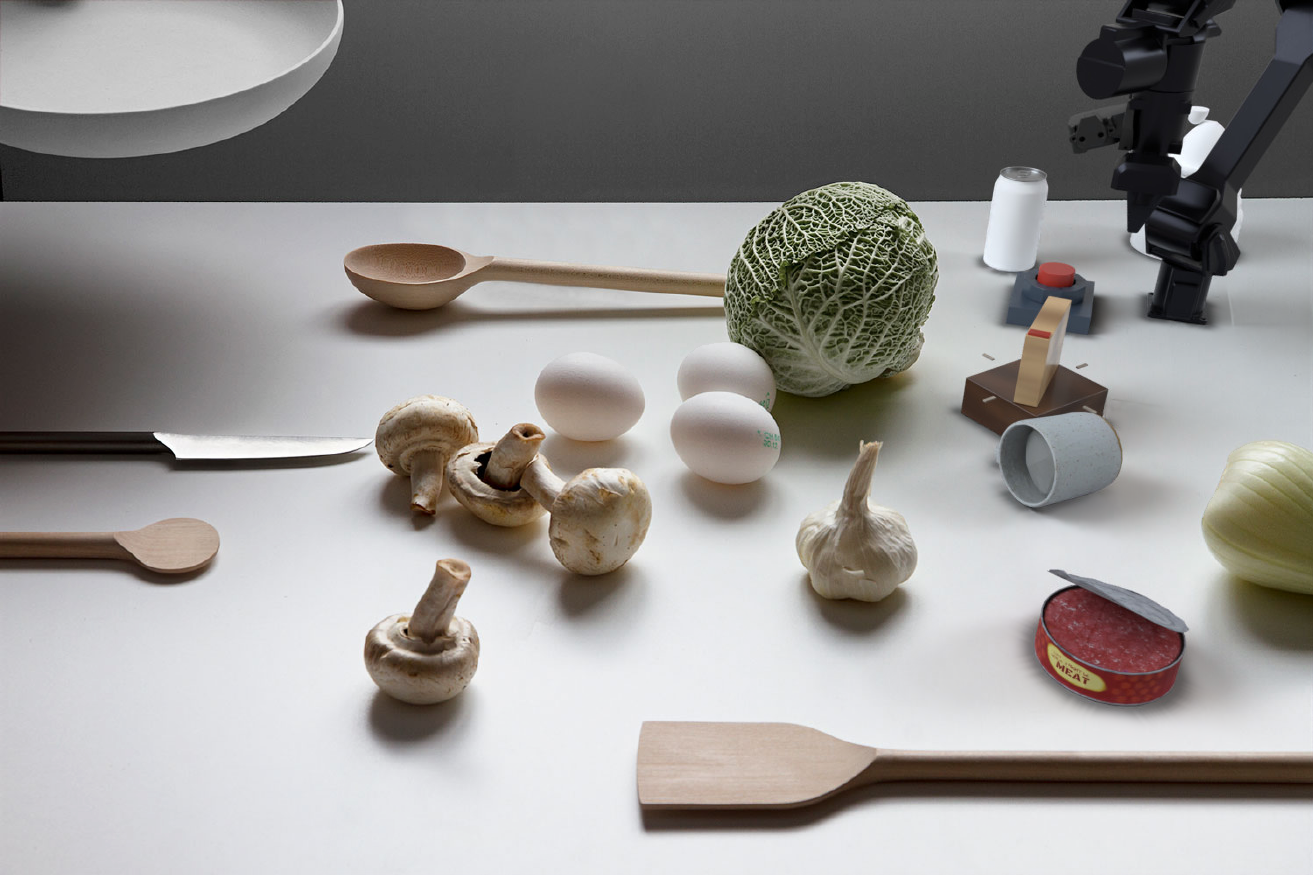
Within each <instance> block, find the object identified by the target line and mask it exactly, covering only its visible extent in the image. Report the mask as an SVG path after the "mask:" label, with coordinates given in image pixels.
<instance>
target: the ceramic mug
mask: <svg viewBox="0 0 1313 875" xmlns="http://www.w3.org/2000/svg"><path fill="white" fill-rule="evenodd" d="M994 450H995V461H996V464H998V465H999V471H1000V474H1001V478H1002V481H1003V482H1004V485H1005V486H1006V488H1007V490H1008V491H1009V493H1010V494H1011V495H1012V496H1013V498H1014V499H1016V500H1017V501H1018V502H1020V503H1021V504H1022V505H1024V506H1026V507H1029V508H1041V507H1045V506H1048V505H1052V504H1056V503H1059V502H1064V501H1067V500H1071V499H1074V498H1077V497H1081V496H1086V495H1089V494H1093V493H1096V492H1099V491H1101V490H1103V489H1105V488H1106V487H1108V486H1109V485H1111V484H1113V483H1114V481H1116V479H1117V478H1118V476H1119V474H1120V472H1121V469H1122V466H1123V459H1124V458H1123V457H1124V456H1123V453H1124V452H1123V446H1122V442H1121V439H1120V436H1119V435H1118V433H1117V431H1116V429H1115V428H1114V426H1113V425H1112V424H1111V423H1110V421H1109V420H1108V419H1106V418H1105V417H1103V416H1102V417H1101V416H1100V415H1097V414H1094V413H1087V412H1072V413H1067V414H1062V415H1056V416H1049V417H1042V418H1034V419H1027V420H1021V421H1018V422H1015V423H1013V424H1011V425H1010V426H1009V427H1008V428H1007V429H1006V430H1005V432H1004V433H1003V435H1002V436H1000V440H999V444H997V445H996V446H995V449H994Z"/></svg>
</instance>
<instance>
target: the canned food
mask: <svg viewBox="0 0 1313 875" xmlns="http://www.w3.org/2000/svg"><path fill="white" fill-rule="evenodd" d="M1047 572H1048V573H1050V574H1052V575H1055V576H1056V577H1058V578H1060V579H1063V580H1065V581H1067V582H1069V583H1072V584H1071V585H1067V586H1063V587H1061V588H1058V589H1057V590H1055V591H1054V592H1052V593H1050V594H1049V595H1048V597H1047V598H1046V599H1044V601H1043V603H1042V606H1041V608H1040V614H1039V619H1038V623H1037V627H1036V632H1035V636H1034V641H1033V649H1034V654H1035V657H1036V658H1037V661H1038V663H1039V664H1040V666H1041V667H1042V669H1043V670H1044V671H1045V672H1046V674H1047V675H1048V676H1049V677H1051V678H1052V679H1053V681H1055V682H1056V683H1057V684H1058V685H1061V686H1062V687H1063V688H1065V689H1066V690H1068V691H1069V692H1072V693H1074V694H1075V695H1078V696H1080V697H1082V698H1085V699H1087V700H1091V701H1094V702H1098V703H1101V704H1107V705H1110V706H1111V705H1112V706H1121V707H1123V706H1124V707H1128V706H1129V707H1130V706H1132V707H1133V706H1142V705H1146V704H1151V703H1153V702H1156V701H1158V700H1160V699H1162V698H1163V697H1165V696H1166V695H1167V694H1169V693H1170V691H1171V690H1172V689H1173V687H1174V686H1175V684H1176V680H1177V677H1178V672H1179V670H1180V666H1181V663H1182V660H1183V657H1184V655H1185V652H1186V648H1187V641H1186V639H1187V638H1186V635H1185V633H1187V632H1188V631H1190V628H1189V626H1187V624H1186V622H1185V620H1183V619H1182V618H1180V617H1178V616H1177V615H1175V613H1173V612H1172V611H1171V610H1170V609H1168V608H1166V607H1165V606H1163V605H1161V604H1159V603H1158V602H1157V601H1155V600H1153V599H1151V598H1150V597H1148V596H1146V595H1143V594H1141V593H1139V592H1137V591H1134V590H1132V589H1128V588H1124V587H1122V586H1119V585H1115V584H1111V583H1107V582H1103V581H1101V580H1098V579H1096V578H1092V577H1091V578H1090V577H1084V576H1080V575H1076V574H1073V573H1068V572H1067V571H1065V570H1063V569H1059V568H1050V569H1049V570H1047Z"/></svg>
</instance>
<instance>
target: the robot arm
mask: <svg viewBox="0 0 1313 875" xmlns="http://www.w3.org/2000/svg"><path fill="white" fill-rule="evenodd" d="M1237 1H1238V0H1126V2H1125V3H1124V5H1123V6H1122V8H1121V10H1120V11H1119V12H1118V14H1117V16H1116V17H1115V24H1114V23H1107V24H1103V25H1102V26H1101V27H1100V29H1099V30H1100V31H1099V36H1098V37H1097V38H1096V39H1093V40H1091V41H1090V42H1089V43H1087V45H1085V47H1084V48H1083V50H1082V52H1081V53H1080V56H1079V57H1078V58H1077V61H1076V68H1075V72H1076V80H1077V83H1078V86H1079V88H1080V89H1081V91H1082V92H1083V94H1085V95H1086V96H1087V97H1089V98H1090V99H1092V100H1096V101H1098V100H1101V101H1102V100H1107V99H1112V98H1117V97H1122V96H1123V97H1124V96H1128V100H1127V102H1124V103H1120V104H1115V105H1113V104H1112V105H1109V106H1105V107H1100V108H1096V109H1092V110H1088V111H1084V112H1079V113H1076V114H1073V115H1072V116H1070V118H1069V121H1068V123H1067V128H1068V133H1069V138H1068V140H1069V143H1070V144H1071V149H1072V154H1075V155H1080V154H1085V153H1087V152H1088V151H1091V150H1094V149H1099V148H1104V147H1108V146H1113V145H1116V144H1118V146H1117V150H1118V151H1126V153H1124V154H1123V155H1121V156H1119V157H1118V158H1117V159H1116V160H1115V164H1114V169H1113V173H1112V177H1111V182H1110V189H1112V190H1115V191H1120V192H1121V191H1122V192H1126V231H1127V233H1129V234H1132V233H1138V232H1139V231H1140V229H1141V228H1142V227H1143V225H1144V224H1145V247H1146V253H1147V254H1149V255H1154V256H1156V257H1159V258H1161V259H1162V260H1160V265H1159V270H1158V274H1157V278H1156V282H1155V287H1154V289H1153V292H1148V293H1147V295H1146V317H1149V318H1156V319H1164V320H1170V321H1177V322H1184V323H1193V324H1199V325H1206V324H1208V321H1209V316H1208V304H1207V298H1208V295H1209V292H1210V287H1211V284H1212V279H1213V277H1226V276H1227V275H1228V273H1229V272H1231V271H1233V270H1234V268H1235V266H1236V264H1237V262H1238V260H1239V258H1240V256H1241V250H1240V248H1239V246H1238V244H1237V243H1236V242H1235V241H1234V239H1233V237H1232V235H1231V233H1230V232H1231V230H1232V228H1233V227H1234V225H1235V223H1236V221H1237V197H1238V192H1239V191H1240V189H1242V187H1243V186H1244V184H1245V183H1246V182H1247V180H1248V179H1249V177H1250V175H1251V174H1252V173H1253V171H1254V170H1255V168H1256V166H1258V164H1259V162H1260V161H1261V160H1262V158H1263V156H1264V155H1265V153H1266V152H1267V150H1269V148H1270V146H1271V145H1272V143H1273V142H1274V140H1275V139H1276V137H1277V136H1278V135H1279V132H1280V131H1281V130H1282V128H1283V127H1284V126H1285V124H1286V123H1287V121H1288V119H1289V118H1290V116H1291V115H1292V114H1293V112H1294V111H1295V109H1296V108H1297V106H1298V105H1299V104H1300V102H1301V101H1302V99H1303V98H1304V96H1305V94H1306V93H1307V91H1308V90H1309V89H1310V87H1311V86H1312V84H1313V0H1274V3H1275V6H1276V7H1277V10H1278V12H1279V15H1280V18H1279V20H1278V22H1277V23H1276V26H1275V27H1274V54H1273V56H1272V58H1271V60H1270V61H1269V62H1268V64H1267V66H1266V67H1265V68H1264V70H1263V71H1262V73H1261V75H1260V76H1259V77H1258V78H1257V80H1256V82H1255V84H1254V85H1253V86H1252V88H1251V89H1250V91H1249V92H1248V94H1247V95H1246V97H1245V98H1244V100H1243V101H1242V103H1241V105H1240V106H1239V108H1237V111H1236V112H1235V114H1234V115H1233V116H1232V117H1231V119H1230V121H1229V122H1228V124H1227V125H1226V126H1225V128H1224V129H1225V130H1224V132H1223V133H1222V135H1221V136H1220V138H1219V139H1218V141H1217V142H1216V143H1215V145H1214V146H1213V148H1212V149H1211V151H1210V152H1209V154H1208V155H1207V157H1206V158H1205V160H1204V161H1203V163H1202V164H1201V166H1200V167H1199V169H1198V170H1197V171H1196V172H1194V173H1192V174H1191V175H1189V176H1187V177H1185V178H1183V177H1181V169H1182V167H1181V166H1180V164H1179V163H1178V162H1177V160H1176V159H1175V158H1174V157H1169V156H1168V154H1177V155H1181V151H1182V147H1183V138H1184V137H1185V135H1186V134H1185V133H1186V130H1187V124H1188V121H1189V120H1188V117H1189V114H1190V113H1191V108H1192V106H1193V102H1194V101H1193V100H1194V95H1195V92H1196V91H1195V90H1196V87H1197V82H1198V78H1199V73H1200V69H1201V65H1202V61H1203V57H1204V53H1205V48H1206V43H1207V40H1208V39H1212V38H1218V37H1220V36H1221V35H1222V32H1223V30H1222V28H1221V27H1220V26H1219V24H1218V23H1216V21H1215V20H1214V18H1215V17H1218V16H1220V15H1222V14H1224V13H1227V12H1229V11H1231V10H1232V9H1233V8H1234V5H1235V3H1236V2H1237Z"/></svg>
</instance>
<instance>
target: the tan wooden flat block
mask: <svg viewBox="0 0 1313 875" xmlns="http://www.w3.org/2000/svg"><path fill="white" fill-rule="evenodd" d="M1071 302H1072V300H1068V299H1063V298H1058V297H1052V296H1049V297H1048V298H1047V300H1046V302H1045V303H1044V305H1043V307H1042V308H1041V310H1040V312H1039V313H1038V315H1037V317H1036V319H1035V320H1034V322H1033V324H1032V325H1031V327H1029V329H1028V330H1027V332H1026V334H1025V336H1024V342H1023V347H1022V353H1021V358H1020V359H1021V363H1020V368H1019V374H1018V379H1017V385H1016V390H1015V396H1014V402H1016V403H1020V404H1024V405H1029V406H1033V407H1037V406H1038V404H1039V402H1040V400H1041V398H1042V396H1043V394H1044V392H1045V390H1046V388H1047V386H1048V385H1049V383H1050V381H1051V379H1052V377H1053V375H1054V373H1055V371H1056V369H1057V367H1058V365H1059V364H1060V362H1061V355H1062V350H1063V346H1064V342H1065V341H1064V340H1065V336H1066V333H1067V332H1066V327H1067V322H1068V317H1069V312H1070V307H1071Z"/></svg>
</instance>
